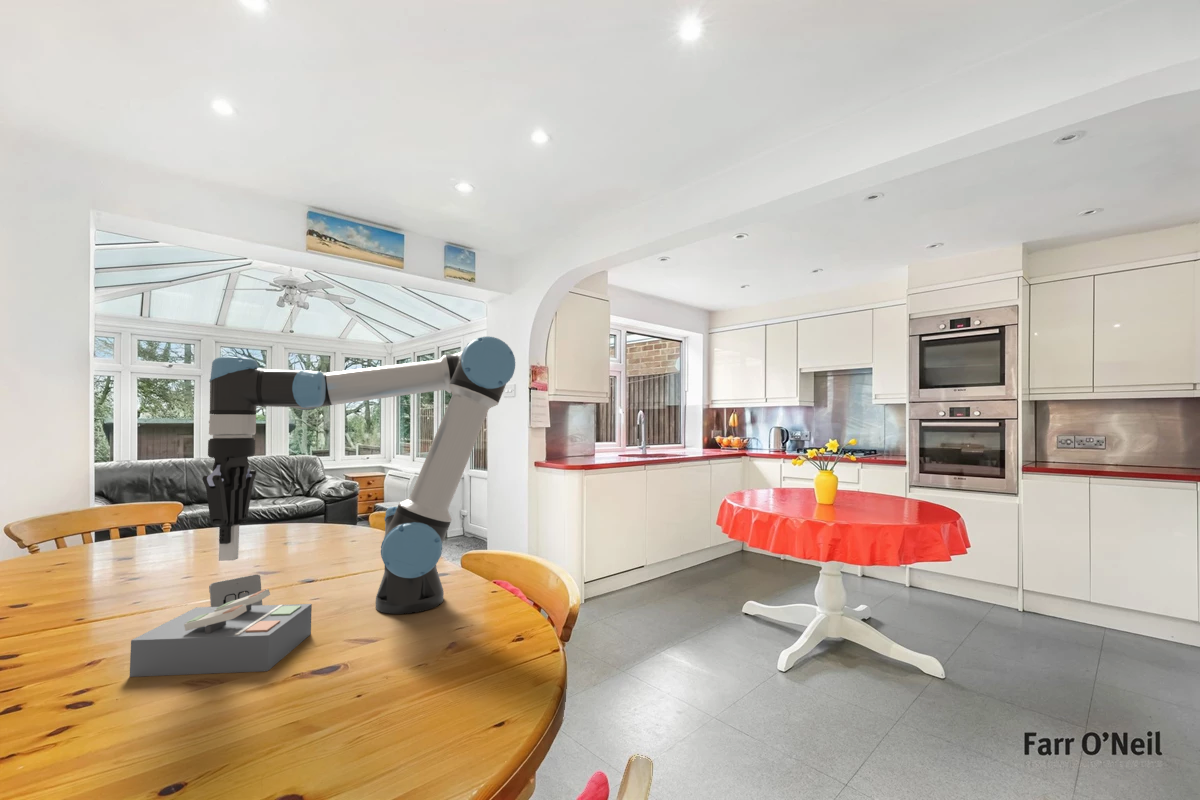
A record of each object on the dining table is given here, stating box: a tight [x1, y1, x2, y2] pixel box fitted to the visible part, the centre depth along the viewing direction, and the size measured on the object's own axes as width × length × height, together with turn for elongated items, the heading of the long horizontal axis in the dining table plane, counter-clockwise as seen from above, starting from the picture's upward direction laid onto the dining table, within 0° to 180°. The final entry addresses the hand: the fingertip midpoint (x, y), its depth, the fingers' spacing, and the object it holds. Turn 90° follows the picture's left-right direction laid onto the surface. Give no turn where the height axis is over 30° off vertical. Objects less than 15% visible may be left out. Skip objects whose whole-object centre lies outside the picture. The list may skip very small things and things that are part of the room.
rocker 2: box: [214, 588, 271, 612], centre depth 101 cm, size 8×4×1 cm, turn 96°
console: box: [129, 603, 313, 678], centre depth 96 cm, size 22×16×7 cm
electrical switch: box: [208, 573, 263, 607], centre depth 113 cm, size 9×5×9 cm, turn 141°
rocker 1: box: [184, 604, 247, 631], centre depth 93 cm, size 8×4×1 cm, turn 96°
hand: (228, 559), depth 100 cm, fingers closed
